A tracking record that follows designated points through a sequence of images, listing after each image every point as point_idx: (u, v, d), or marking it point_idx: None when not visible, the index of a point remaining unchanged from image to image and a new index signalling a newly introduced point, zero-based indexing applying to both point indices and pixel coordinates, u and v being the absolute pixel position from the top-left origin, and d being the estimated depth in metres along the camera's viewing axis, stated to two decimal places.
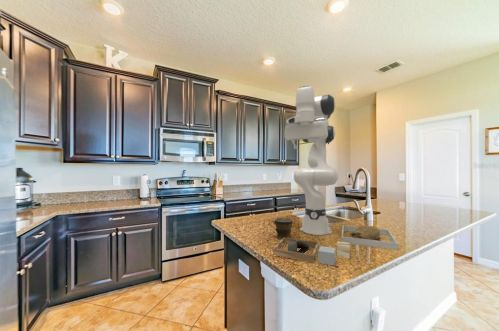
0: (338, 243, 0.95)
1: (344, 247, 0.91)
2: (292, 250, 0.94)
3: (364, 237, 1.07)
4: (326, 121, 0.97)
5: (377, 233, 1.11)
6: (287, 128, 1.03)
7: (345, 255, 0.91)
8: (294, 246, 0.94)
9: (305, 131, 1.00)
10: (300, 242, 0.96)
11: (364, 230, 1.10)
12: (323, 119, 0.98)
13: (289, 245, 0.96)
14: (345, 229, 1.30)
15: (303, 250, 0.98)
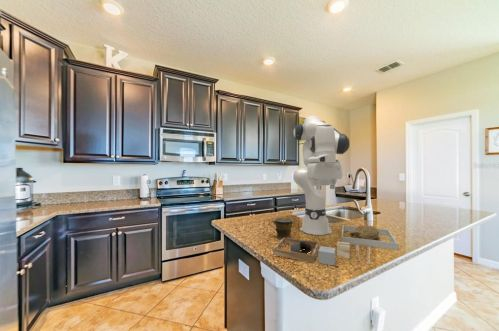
0: (338, 243, 0.95)
1: (344, 247, 0.91)
2: (295, 251, 0.93)
3: (363, 237, 1.07)
4: (339, 163, 1.02)
5: (376, 233, 1.11)
6: (317, 167, 0.91)
7: (345, 255, 0.91)
8: (297, 247, 0.93)
9: (329, 172, 0.96)
10: (303, 243, 0.95)
11: (363, 230, 1.10)
12: (337, 161, 1.01)
13: (292, 246, 0.95)
14: (345, 229, 1.30)
15: (306, 251, 0.97)
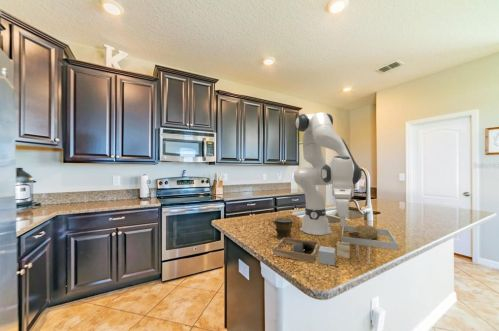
0: (338, 243, 0.95)
1: (344, 247, 0.91)
2: (298, 251, 0.92)
3: (362, 237, 1.07)
4: None
5: (375, 233, 1.12)
6: None
7: (345, 255, 0.91)
8: (300, 247, 0.92)
9: None
10: (305, 243, 0.94)
11: (362, 230, 1.11)
12: None
13: (294, 246, 0.94)
14: (345, 229, 1.30)
15: (308, 251, 0.96)
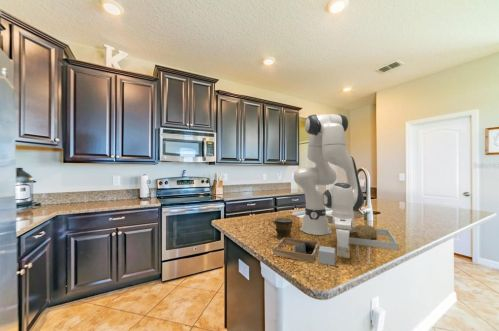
0: None
1: None
2: (300, 252, 0.92)
3: (361, 236, 1.08)
4: None
5: (374, 232, 1.12)
6: None
7: (345, 255, 0.91)
8: (302, 248, 0.92)
9: None
10: (307, 243, 0.94)
11: (361, 229, 1.11)
12: None
13: (296, 247, 0.93)
14: None
15: (309, 251, 0.96)
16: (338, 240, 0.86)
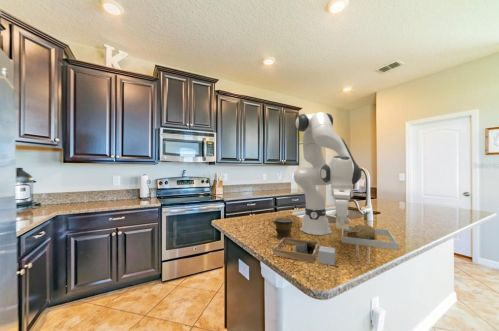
0: None
1: None
2: (301, 252, 0.92)
3: (360, 236, 1.08)
4: None
5: (372, 232, 1.13)
6: None
7: (344, 227, 0.91)
8: (303, 248, 0.92)
9: None
10: (308, 243, 0.94)
11: (360, 229, 1.12)
12: None
13: (297, 247, 0.93)
14: (345, 229, 1.30)
15: (310, 251, 0.96)
16: (337, 210, 0.85)
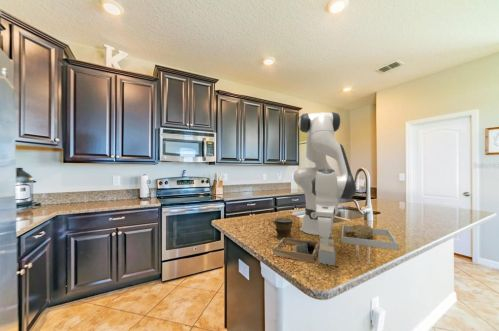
0: None
1: None
2: (302, 252, 0.92)
3: (358, 236, 1.09)
4: None
5: (370, 232, 1.14)
6: None
7: (328, 249, 0.85)
8: (304, 248, 0.92)
9: (331, 222, 0.87)
10: (308, 243, 0.94)
11: (358, 229, 1.12)
12: None
13: (298, 247, 0.93)
14: (345, 229, 1.30)
15: (310, 251, 0.96)
16: (319, 229, 0.79)
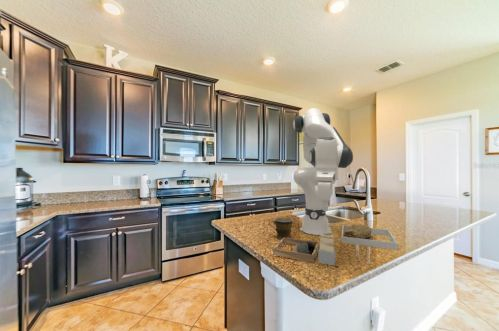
0: (321, 236, 0.88)
1: (327, 240, 0.85)
2: (302, 251, 0.92)
3: (357, 236, 1.09)
4: None
5: (369, 231, 1.14)
6: None
7: (328, 249, 0.85)
8: (304, 247, 0.92)
9: None
10: (308, 243, 0.95)
11: (357, 229, 1.13)
12: None
13: (298, 246, 0.94)
14: (345, 229, 1.30)
15: (310, 250, 0.97)
16: (319, 193, 0.81)
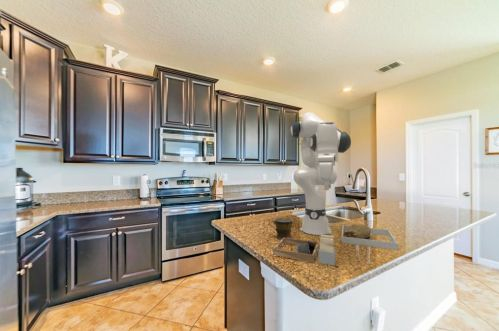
0: (321, 236, 0.88)
1: (327, 240, 0.85)
2: (303, 251, 0.92)
3: (358, 236, 1.09)
4: None
5: (369, 231, 1.14)
6: None
7: (328, 249, 0.85)
8: (305, 247, 0.92)
9: None
10: (309, 242, 0.95)
11: (357, 229, 1.13)
12: None
13: (299, 246, 0.94)
14: (345, 229, 1.30)
15: (311, 250, 0.97)
16: (321, 172, 0.86)
